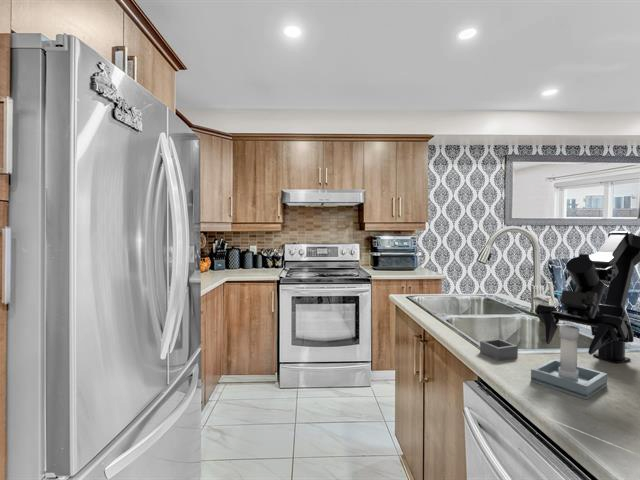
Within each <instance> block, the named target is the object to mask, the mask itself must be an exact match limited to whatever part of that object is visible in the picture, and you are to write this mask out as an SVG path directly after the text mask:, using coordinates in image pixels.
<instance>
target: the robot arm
mask: <svg viewBox="0 0 640 480" xmlns="http://www.w3.org/2000/svg"><path fill="white" fill-rule="evenodd" d="M639 263H640V236H639V235H637V234H633V233H632V232H629V231H616V230H615V231H610V232H608V234H607V239H606V240H605V241H604V243H603V244H602V246H601V247H600V248H599V250H597V252H596V253H594V254H590V255H589V253H579V255H578V256H576V257H573V258H571V259H570V260H568V261H567V262H566V263H565V268H566V270H567V272H568V275H569V276H570V279H571V281H572V283H573V284H574V285H576V288H575V291H574V290H566V289H562V290H561V295H560V301H559V302H560V304H563V306H562V307H563V310H564V311H566V312H561V311H557V308H556V307H555V305H549V304H543V303H540V304H539V303H538V304H537V305H536V307H535V310H534V313H535V314H536V315H537V318H538V320H540V323H542V324H543V325H544V327H545V328H544V330H545V342H546V344H547V345H549V344H550V343H551V342H552V340H553V338H554V336H555V334H556V332H557V329H558V325H557V324H559V321H563V322H568V323H575V324H579V325H583V326H589V327H590V329H591V331H590V332H591V335H592V336H593V338H592V340H591V342H590V345H589V348H588V354H589V355H590V356H591V355H592V356H593V357H596V358H599V359H602V360H606V361H608V362H610V363H611V362H612V363H614V364H620V363H624V362H630V361H631V360H632V359H631V358H630V357H628V356H627V357H626V344H627V343H634V342H635V341H634V338H635V335H634V330H633V327H632V326H631V325H632V324H631V322H630V317H629V316H628V314H627V312H626V310H625V306H626V303H627V299H628V296H629V295H628V294H629V291H630V286H631V283H632V277H633V274H634V269H635V267H636V266H637V265H639ZM604 282H609V284H608V288H607V292H605V291H606V290H605V289H606V285H605V284H604ZM605 294H606V295H605ZM603 296H605V301H604V302H603V303H602V304H601V301H602V297H603ZM595 352H597V353H595Z"/></svg>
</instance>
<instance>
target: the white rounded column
mask: <svg viewBox="0 0 640 480" xmlns="http://www.w3.org/2000/svg"><path fill="white" fill-rule="evenodd" d="M558 330H559V331H558V333H559V334H558V336H559V337H560V358H559V361H560V367H559V376H560V377H563V378H566V379H570V380H573V381H576V382H578V370H577V366H578V340H580V328H579V327H578V326H574V325H567V324H566V325H565V324H563V325H559V329H558Z"/></svg>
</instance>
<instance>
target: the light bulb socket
mask: <svg viewBox="0 0 640 480" xmlns="http://www.w3.org/2000/svg"><path fill="white" fill-rule="evenodd" d="M518 347H519V346H518V345H517V344H513V343H511V342H509V341H506V340H503V339H500V338H493V339H486V340H481V341H480V343H479V353H480V354H483V355H485V356H487V357H489V358H490V359H491V358H492V359H494V360H496V361H504V360H505V361H506V360H510V359H511V360H512V359H517V358H518V357H519V355H518V353H519V350H518Z"/></svg>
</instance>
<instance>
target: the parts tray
mask: <svg viewBox="0 0 640 480" xmlns="http://www.w3.org/2000/svg"><path fill="white" fill-rule="evenodd" d="M559 367H560V359H559V360H558V359H555V358H552V359H550V360H547V361H545V362H543V363H541V364H539V365H537V366H535V367H533V368H531V369H530V381H531V382H533V383H536V384H540V385H542V386H545V387H548V388H552V389H554V390H556V391H560V392H563V393H567V394H570V395H572V396H575V397H578V398H581V399H584V400H589V399H590V398H591V397H593V396H594V395H596V394H597V393H599V392H600V391H602V390H603V389H604V388H605V387H607V386H608V373H606V372H603V371H598V370H596V369H592V368H588V367H585V366H581V365H577V370H578V382H576V381H573V380H570V379H566V378H563V377H560V376H559Z"/></svg>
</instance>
